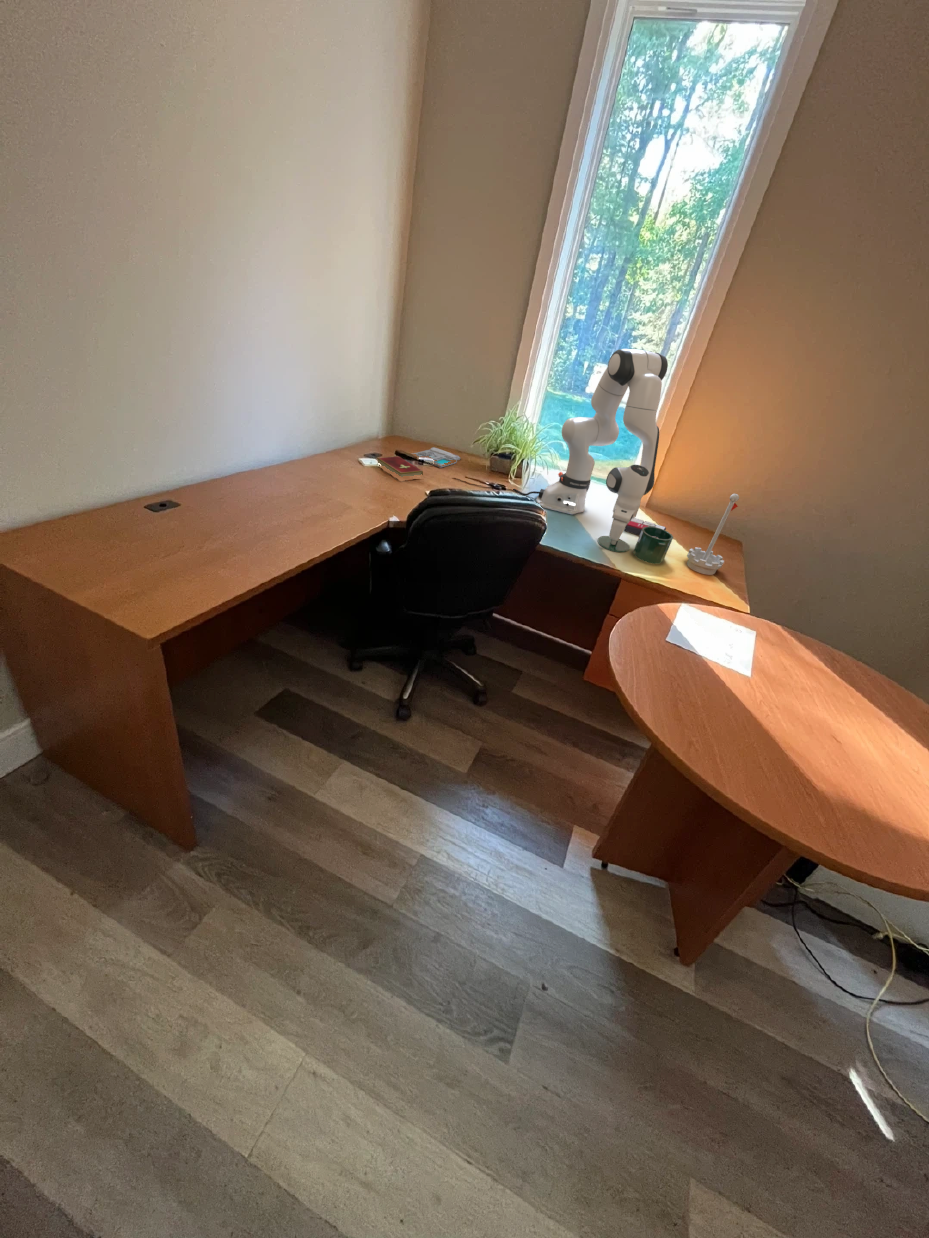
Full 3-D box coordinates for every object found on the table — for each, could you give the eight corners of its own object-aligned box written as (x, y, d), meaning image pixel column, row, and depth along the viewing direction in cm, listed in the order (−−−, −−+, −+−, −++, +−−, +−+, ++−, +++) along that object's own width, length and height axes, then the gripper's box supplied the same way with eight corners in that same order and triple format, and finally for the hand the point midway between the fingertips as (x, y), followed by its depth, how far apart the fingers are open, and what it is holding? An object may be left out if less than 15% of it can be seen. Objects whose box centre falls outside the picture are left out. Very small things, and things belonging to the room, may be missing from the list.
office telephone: (435, 445, 264) (465, 456, 256) (434, 450, 266) (465, 460, 258) (408, 452, 247) (440, 463, 239) (407, 457, 249) (439, 468, 241)
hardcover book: (398, 463, 238) (398, 455, 236) (422, 479, 226) (423, 470, 224) (376, 466, 231) (376, 457, 229) (400, 481, 219) (401, 472, 217)
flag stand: (705, 578, 183) (742, 502, 166) (677, 561, 192) (709, 488, 175) (725, 573, 190) (763, 499, 173) (697, 557, 198) (730, 486, 181)
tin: (637, 565, 184) (647, 540, 178) (628, 545, 198) (637, 521, 192) (667, 570, 184) (678, 545, 178) (656, 550, 198) (666, 526, 192)
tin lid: (599, 550, 190) (603, 538, 187) (595, 536, 200) (598, 524, 197) (631, 555, 190) (636, 543, 187) (625, 541, 200) (629, 530, 197)
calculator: (632, 516, 215) (667, 526, 210) (629, 525, 218) (663, 535, 212) (626, 523, 207) (661, 533, 201) (623, 533, 209) (658, 543, 204)
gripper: (622, 499, 195) (611, 531, 203) (612, 515, 179) (601, 548, 187) (637, 504, 193) (626, 535, 201) (629, 520, 177) (617, 554, 185)
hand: (614, 542), depth 194 cm, fingers closed on tin lid, 2 cm apart
